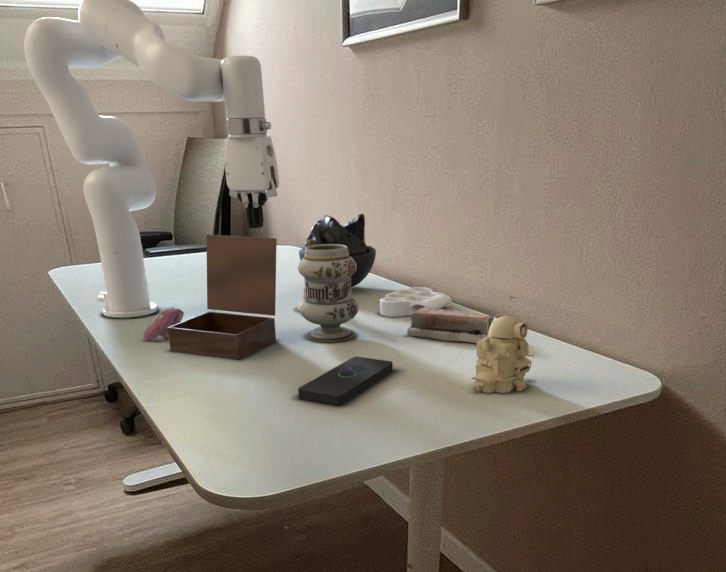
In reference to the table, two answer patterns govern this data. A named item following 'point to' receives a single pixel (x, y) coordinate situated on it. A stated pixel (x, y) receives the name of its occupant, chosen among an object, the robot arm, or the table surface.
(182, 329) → the box
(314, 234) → the bowl of black rocks
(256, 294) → the box lid
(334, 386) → the smart home device
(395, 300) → the white lobed tray
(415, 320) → the packaged product
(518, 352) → the robot
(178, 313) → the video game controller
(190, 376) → the table surface
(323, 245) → the apothecary jar
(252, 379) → the table surface
